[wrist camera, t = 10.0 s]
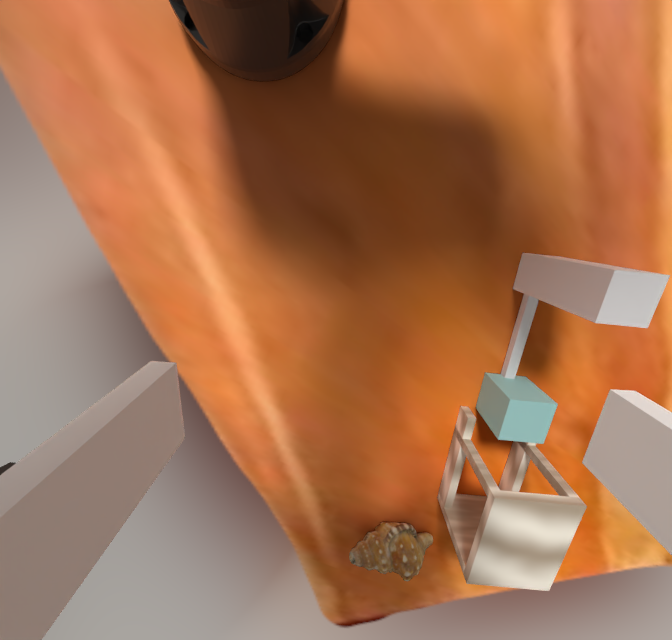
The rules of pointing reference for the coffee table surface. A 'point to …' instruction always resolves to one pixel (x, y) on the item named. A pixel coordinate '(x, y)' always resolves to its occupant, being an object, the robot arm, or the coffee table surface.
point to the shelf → (507, 516)
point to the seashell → (392, 549)
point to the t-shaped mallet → (577, 298)
